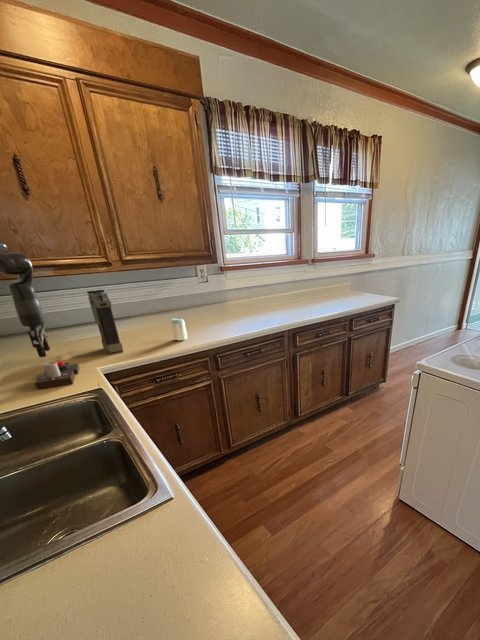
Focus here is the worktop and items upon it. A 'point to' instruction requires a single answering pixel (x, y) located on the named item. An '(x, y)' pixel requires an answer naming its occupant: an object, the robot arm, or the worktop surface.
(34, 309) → the robot arm
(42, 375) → the panel
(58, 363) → the power button
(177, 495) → the worktop surface
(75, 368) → the switch block
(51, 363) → the white cup
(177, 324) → the can
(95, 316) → the device
